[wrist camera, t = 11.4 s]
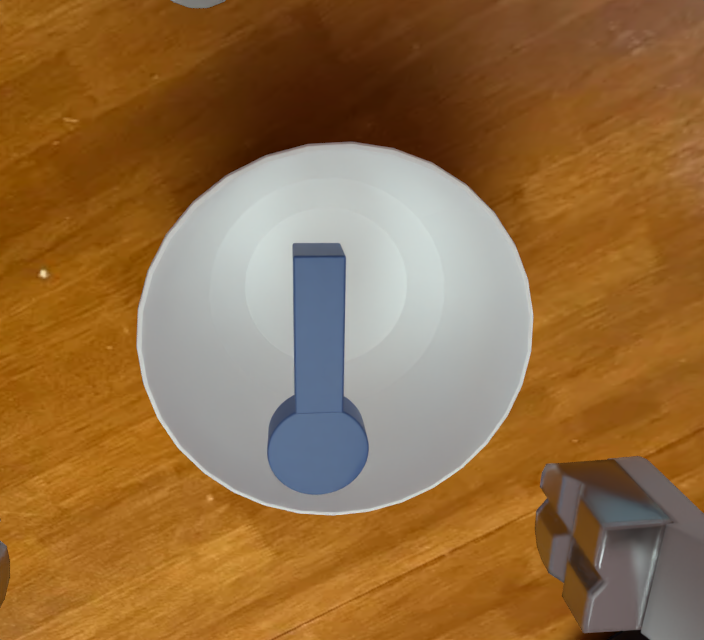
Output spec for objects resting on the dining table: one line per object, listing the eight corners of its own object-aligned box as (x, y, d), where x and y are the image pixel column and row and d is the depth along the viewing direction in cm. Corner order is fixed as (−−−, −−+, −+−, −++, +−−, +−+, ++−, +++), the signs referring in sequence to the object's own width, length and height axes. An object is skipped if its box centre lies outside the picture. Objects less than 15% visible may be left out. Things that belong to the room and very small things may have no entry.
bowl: (113, 280, 31) (44, 347, 22) (334, 63, 29) (357, 39, 20) (319, 462, 36) (330, 576, 27) (522, 288, 34) (607, 351, 25)
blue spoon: (262, 242, 22) (260, 256, 20) (369, 242, 22) (378, 255, 20) (269, 475, 25) (267, 507, 23) (362, 470, 26) (369, 502, 23)
